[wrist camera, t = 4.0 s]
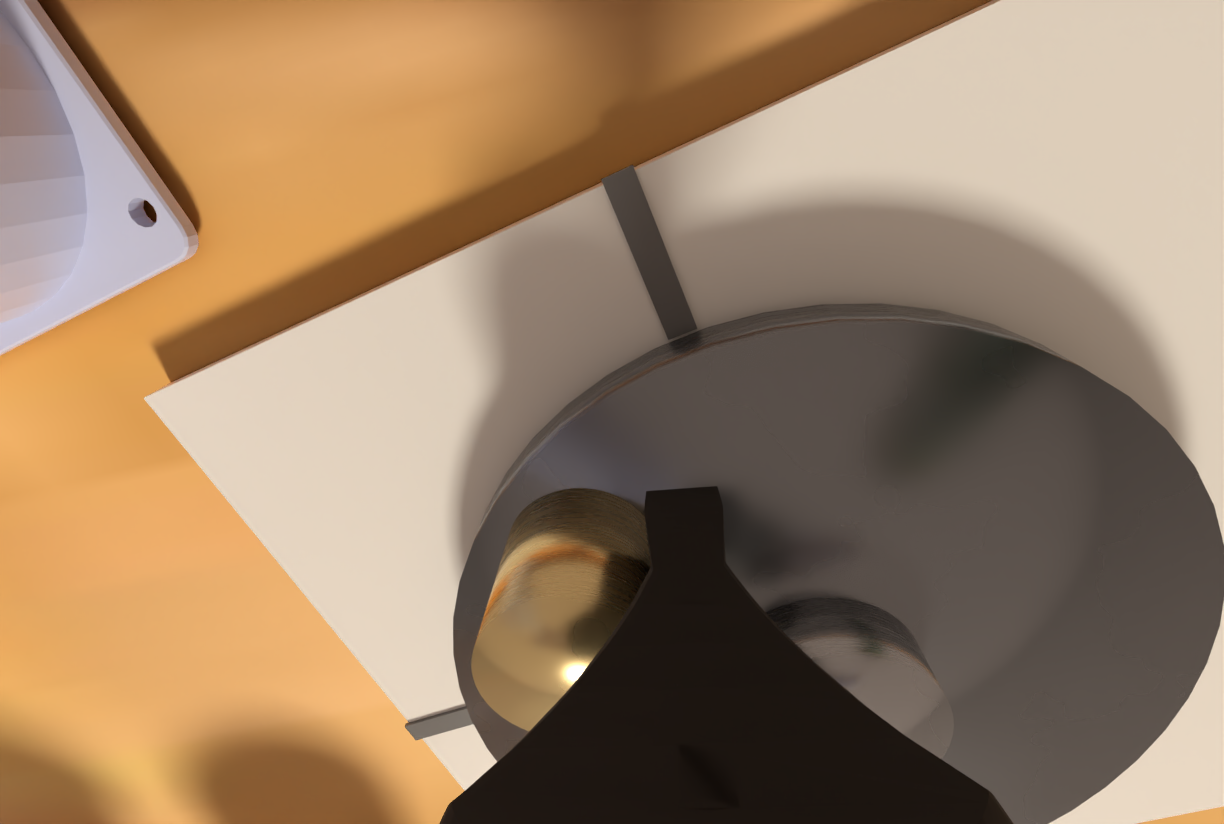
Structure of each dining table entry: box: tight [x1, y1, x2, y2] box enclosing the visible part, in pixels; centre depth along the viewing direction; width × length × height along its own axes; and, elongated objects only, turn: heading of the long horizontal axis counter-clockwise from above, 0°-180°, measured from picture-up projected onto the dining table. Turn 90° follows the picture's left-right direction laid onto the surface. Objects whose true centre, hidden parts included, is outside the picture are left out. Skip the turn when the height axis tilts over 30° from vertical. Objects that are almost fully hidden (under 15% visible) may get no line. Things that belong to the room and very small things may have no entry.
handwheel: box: [453, 303, 1224, 824], centre depth 13 cm, size 16×16×4 cm
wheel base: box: [144, 0, 1224, 824], centre depth 15 cm, size 22×22×1 cm
